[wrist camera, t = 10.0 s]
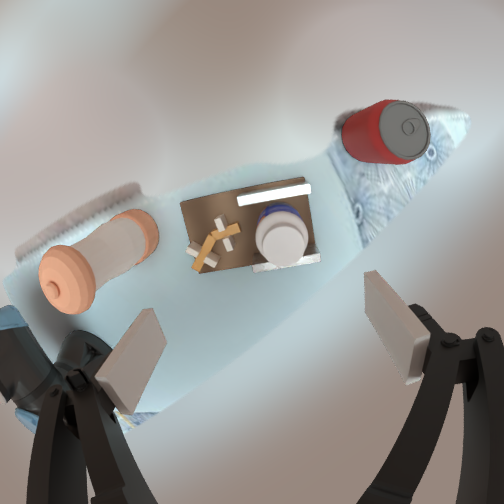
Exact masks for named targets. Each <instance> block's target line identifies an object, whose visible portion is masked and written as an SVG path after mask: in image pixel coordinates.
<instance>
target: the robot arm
mask: <svg viewBox="0 0 504 504" xmlns="http://www.w3.org/2000/svg"><path fill="white" fill-rule="evenodd" d="M364 286H365V313H366V315H367V316H368V318H369V320H370V322H371V323H372V325H373V327H374V328H375V330H376V332H377V334H378V335H379V337H380V339H381V341H382V342H383V344H384V346H385V348H386V350H387V351H388V353H389V355H390V357H391V359H392V360H393V362H394V364H395V366H396V368H397V370H398V372H399V373H400V375H401V377H402V379H403V381H404V383H405V385H408V384H411V383H414V382H417V381H419V380H420V378H421V375H422V371H423V373H424V378H423V380H422V383H421V386H420V389H419V391H418V394H417V397H416V399H415V401H414V404H413V406H412V408H411V411H410V413H409V415H408V418H407V420H406V422H405V424H404V426H403V428H402V430H401V432H400V435H399V436H398V438H397V440H396V442H395V444H394V446H393V448H392V450H391V452H390V454H389V455H388V457H387V459H386V461H385V463H384V464H383V466H382V468H381V469H380V471H379V473H378V474H377V476H376V477H375V479H374V480H373V482H372V483H371V485H370V486H369V487H368V488H367V490H366V491H365V492H364V494H363V495H362V496H361V498H360V499H359V501H358V502H357V503H356V504H410V503H411V501H412V496H413V494H414V492H415V490H416V488H417V486H418V484H419V482H420V480H421V478H422V476H423V474H424V472H425V470H426V467H427V465H428V463H429V461H430V458H431V456H432V453H433V451H434V448H435V446H436V443H437V441H438V438H439V435H440V432H441V429H442V427H443V424H444V420H445V418H446V414H447V411H448V408H449V404H450V400H451V396H452V393H453V389H454V385H455V384H460V383H462V384H463V400H464V439H463V456H462V467H461V475H460V482H459V489H458V494H457V500H456V504H504V346H503V343H502V340H501V337H500V334H499V333H498V332H497V331H496V330H495V329H493V328H488V327H485V328H481V329H480V330H478V332H477V333H476V337H475V338H472V339H465V340H461V338H460V337H459V336H458V335H456V334H454V333H446V332H445V331H444V330H443V329H442V328H441V327H440V326H439V325H438V323H437V322H436V321H435V320H434V319H432V317H431V316H430V315H429V314H428V312H427V311H426V310H425V309H424V308H423V307H421V306H419V305H417V304H413V305H409V306H407V305H406V304H405V302H404V301H403V300H402V299H401V298H400V297H399V296H398V294H397V293H396V292H395V291H394V290H393V289H392V288H391V286H390V285H389V284H388V283H387V282H386V281H385V280H384V279H383V278H382V277H381V275H380V274H379V273H378V272H377V271H376V270H375V271H370V272H365V273H364ZM28 326H29V325H28V324H27V323H26V322H25V321H24V319H23V317H22V316H21V314H20V313H19V311H18V309H17V308H16V307H14V306H12V305H7V306H4V307H2V308H0V404H6V403H7V402H8V401H9V400H10V399H12V400H13V402H14V403H15V404H16V405H17V407H18V408H16V409H15V410H16V411H15V415H16V417H17V418H18V419H19V421H20V422H21V423H22V424H23V425H24V426H25V427H26V428H28V429H29V430H30V431H31V432H33V433H34V434H35V438H34V443H33V448H32V454H31V460H30V468H29V476H28V486H27V501H26V504H88V495H87V475H86V466H87V469H88V473H89V476H90V479H91V482H92V486H93V489H94V492H95V497H92V498H91V504H158V503H157V501H156V500H155V498H154V496H153V494H152V493H151V491H150V489H149V487H148V485H147V484H146V482H145V480H144V478H143V476H142V474H141V472H140V470H139V468H138V466H137V464H136V462H135V460H134V458H133V455H132V453H131V451H130V449H129V447H128V444H127V442H126V440H125V438H124V435H123V432H122V430H121V427H120V425H119V422H118V419H117V417H116V415H115V413H114V412H113V410H114V408H115V407H116V408H117V409H118V411H119V412H120V413H121V414H126V415H133V413H134V411H135V408H136V406H137V404H138V402H139V400H140V398H141V396H142V393H143V391H144V389H145V387H146V385H147V383H148V381H149V379H150V377H151V375H152V372H153V370H154V368H155V366H156V364H157V362H158V360H159V358H160V356H161V354H162V352H163V350H164V348H165V346H166V344H167V341H166V339H165V336H164V334H163V332H162V329H161V327H160V325H159V322H158V320H157V317H156V315H155V313H154V310H153V308H150V309H143V310H142V311H141V313H140V314H139V315H138V317H137V318H136V319H135V321H134V322H133V323H132V325H131V326H130V327H129V329H128V330H127V331H126V333H125V334H124V336H123V337H122V338H121V340H120V341H119V342H118V344H117V345H116V347H115V348H114V349H113V350H112V349H111V348H110V347H109V346H108V345H107V344H105V343H104V342H103V341H102V340H100V339H99V338H97V337H96V336H94V335H92V334H90V333H88V332H85V331H79V330H78V331H73V332H71V333H70V334H69V335H68V336H67V337H66V338H65V340H64V341H63V344H62V347H61V349H60V352H59V354H58V357H57V360H56V362H55V363H54V364H52V362H51V361H50V359H49V358H48V356H47V355H46V354H45V352H44V351H43V349H42V348H41V346H40V345H39V343H38V342H37V340H36V338H35V337H34V335H33V333H32V332H31V330H30V328H29V327H28Z"/></svg>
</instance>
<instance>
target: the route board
mask: <svg viewBox="0 0 504 504" xmlns="http://www.w3.org/2000/svg"><path fill="white" fill-rule="evenodd" d="M304 181H305V178H304V177H300V178H294V179H288V180H282V181H277V182H271V183H266V184H261V185H255V186H250V187H245V188H241V189H236V190H231V191H226V192H222V193H217V194H213V195H208V196H204V197H200V198H195V199H191V200H187V201H183V202H181V203H180V206H181V210H182V214H183V217H184V221H185V225H186V229H187V233H188V236H189V240H190V244H191V243H192V241H194V242H196V243H197V244H199V245H201V246H203V244H204V242H205V240H206V238H207V236H208V234H209V233H210V232H211V231H212V230H214V229H217V226H216V223H215V221H214V220H215V218H216V217H217V216H219V215H222V214H224V216H225V218H226V221H227V223H228V225H229V224H232V223H234V222H237V221H238V222H239V225H240V227H241V232H239V233H236V234H233V235H232V236H233V238H234V241H235V243H236V245H235V247H234V249H233V250H232V251H228V252H227V250H226V248H225V245H224V243H223V238H221V239H218V240H216V242H215V244H214V246H213V248H212V249H211V251H212V252H213V253H215V254H217V255H219V256H221V257H220V259H219V261H218V263H217V264H216V266H215V268H213V267H211V266H210V265H208V264H206V263H204V264H203V266H202V268H201V270H200V272H199V274H201V273H207V272H213V271H219V270H225V269H231V268H237V267H243V266H249V265H252V262H253V256H254V254H255V253H260V251H259V249H258V247H257V245H256V229H257V222H258V218H259V215H260V213H261V211H262V210H263V209H264V208H265V207H266V206H267V205H269V204H271V203H274V202H284V203H287V204H290V205H291V206H293V207H294V208H295V209H296V210H297V211H298V213H299V214H300V216H301V218H302V220H303V222H304V224H305V226H306V228H307V231H308V243H307V244H313V243H315V240H314V233H313V226H312V220H311V213H310V207H309V201H308V195H307V194H303V195H297V196H291V197H285V198H280V199H274V200H269V201H264V202H258V203H253V204H248V205H243V206H239V205H238V200H237V197H238V196H239V195H240V194H241V193H244V192H249V191H254V190H259V189H265V188H270V187H275V186H281V185H286V184H292V183H298V182H304ZM194 258H195V257H194ZM195 260H196V258H195Z"/></svg>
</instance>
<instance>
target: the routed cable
mask: <svg viewBox="0 0 504 504" xmlns="http://www.w3.org/2000/svg"><path fill="white" fill-rule="evenodd" d="M214 221H215V223H216V226H217V229H214V230H212V231H211V232H210V233H209V234H208V236H207V238H206V240H205V242H204V244H203V246H201V245H199V244H197V243H196V242H194V241H192V243H191V244H190V245H189V246H188V247H187V249H186V251H185V252H186V253H188V254H190V255H192V256H193V257H195V258H196V260H195V262H194V263H193V265H192V267H191V268H193V269H194V270H196V271H198V272H200V270H201V268H202V266H203V264H204V263H206V264H208V265H210V266H211V267H213V268H215V266H216V264H217V263H218V261H219V259H220V257H221V256H219V255H217V254H215V253H213V252H212V251H211V249H212V248H213V246H214V244H215V242H216V240H218V239H221V238H223V243H224V245H225V248H226V250H227V252H228V251H232V250H233V249H234V247H235V245H236V243H235V241H234V238H233V236H232V235H233V234H236V233H239V232H241V227H240V225H239V222H238V221H237V222H234V223H232V224H229V225H228V223H227V221H226V218H225V216H224V214H222V215H219V216H217V217H216V218H215V220H214Z"/></svg>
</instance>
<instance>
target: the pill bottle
mask: <svg viewBox="0 0 504 504" xmlns="http://www.w3.org/2000/svg"><path fill="white" fill-rule="evenodd" d="M307 243H308V231H307V228H306V226H305V224H304V222H303V220H302V218H301V216H300V214H299V213H298V211H297V210H296V209H295V208H294V207H293V206H291V205H290V204H287V203H284V202H274V203H271V204H269V205H267V206H266V207H265V208H264V209H263V210H262V211H261V213H260V215H259V218H258V222H257V229H256V245H257V247H258V249H259V251H260V253H261V254H262V255H263V256H264V257H265V258H266V259H267V260H268V261H269V262H270V263H271V264H273V265H275V266H278V267H288V266H292V265H294V264H296V263H297V262H298V261H299V260H300V259H301V258H302V256H303V254H304V251H305V249H306V247H307Z"/></svg>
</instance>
